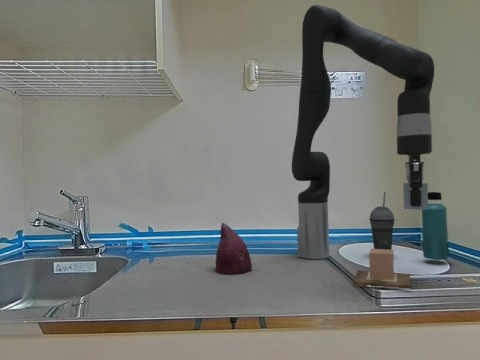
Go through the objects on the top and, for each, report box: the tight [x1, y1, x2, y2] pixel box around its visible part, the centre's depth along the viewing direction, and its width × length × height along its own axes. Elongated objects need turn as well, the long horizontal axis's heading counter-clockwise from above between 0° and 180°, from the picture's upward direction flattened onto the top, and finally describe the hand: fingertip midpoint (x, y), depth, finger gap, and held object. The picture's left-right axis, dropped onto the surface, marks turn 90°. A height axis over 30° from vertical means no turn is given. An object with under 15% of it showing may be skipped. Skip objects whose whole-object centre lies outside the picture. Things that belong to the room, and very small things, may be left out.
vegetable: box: [215, 221, 253, 275], centre depth 100 cm, size 10×10×15 cm
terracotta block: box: [368, 248, 395, 280], centre depth 85 cm, size 5×5×6 cm
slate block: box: [402, 182, 429, 211], centre depth 86 cm, size 5×5×6 cm
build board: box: [352, 269, 412, 289], centre depth 85 cm, size 12×10×1 cm
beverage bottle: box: [421, 191, 450, 261], centre depth 101 cm, size 6×7×20 cm
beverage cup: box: [368, 191, 396, 250], centre depth 110 cm, size 7×7×20 cm
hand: (415, 204), depth 86 cm, fingers closed on slate block, 5 cm apart
